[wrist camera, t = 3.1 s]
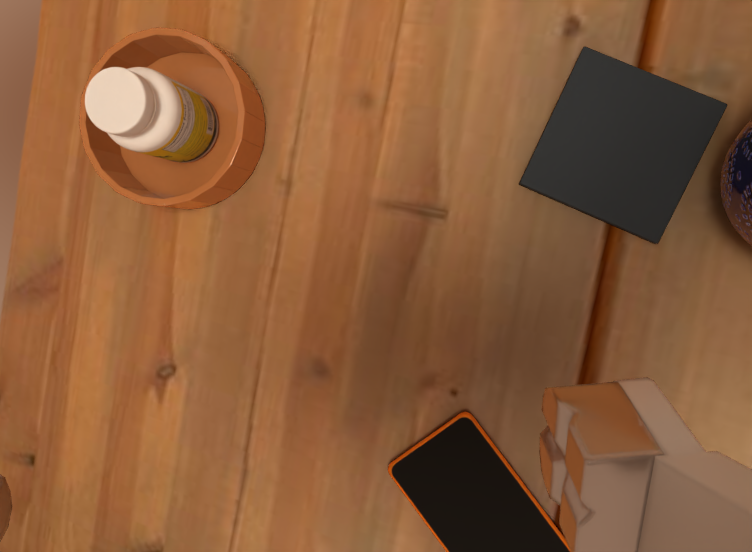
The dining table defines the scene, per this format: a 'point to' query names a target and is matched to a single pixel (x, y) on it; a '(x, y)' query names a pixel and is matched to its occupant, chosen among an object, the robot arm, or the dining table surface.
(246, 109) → the round wooden tray
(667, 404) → the robot arm
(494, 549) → the smartphone
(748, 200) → the planter
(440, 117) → the dining table surface
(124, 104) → the supplement bottle
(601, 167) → the mat
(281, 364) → the dining table surface
